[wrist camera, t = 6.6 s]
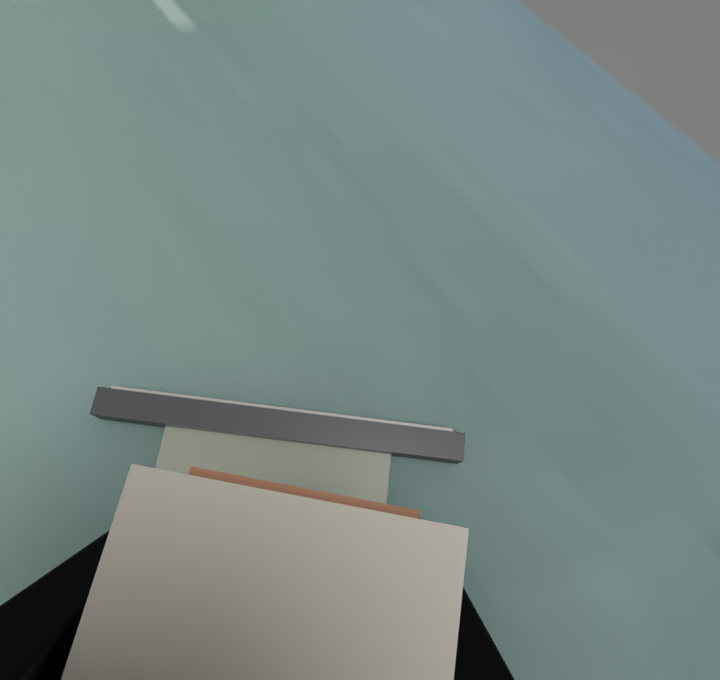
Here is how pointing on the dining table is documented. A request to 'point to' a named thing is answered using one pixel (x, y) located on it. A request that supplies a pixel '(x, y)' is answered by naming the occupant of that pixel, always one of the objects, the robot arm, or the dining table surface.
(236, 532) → the carton
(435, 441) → the rail
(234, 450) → the pad
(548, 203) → the dining table surface
